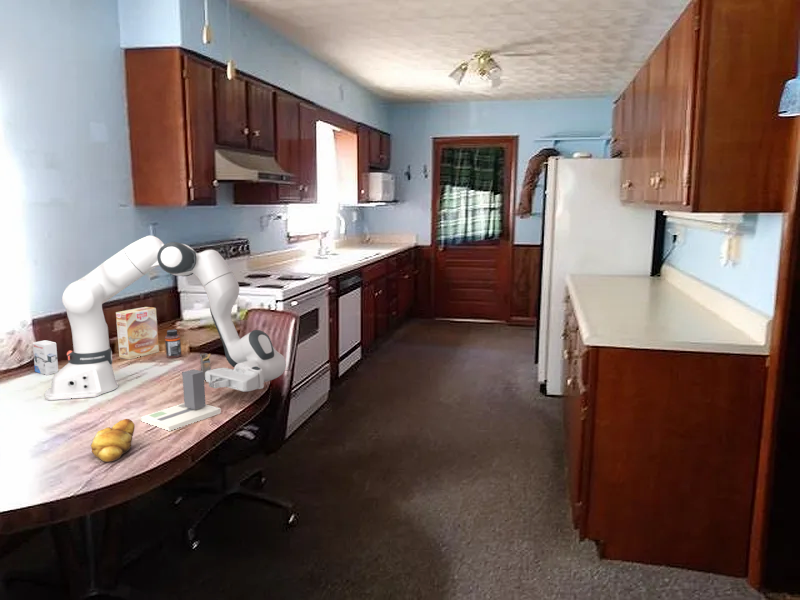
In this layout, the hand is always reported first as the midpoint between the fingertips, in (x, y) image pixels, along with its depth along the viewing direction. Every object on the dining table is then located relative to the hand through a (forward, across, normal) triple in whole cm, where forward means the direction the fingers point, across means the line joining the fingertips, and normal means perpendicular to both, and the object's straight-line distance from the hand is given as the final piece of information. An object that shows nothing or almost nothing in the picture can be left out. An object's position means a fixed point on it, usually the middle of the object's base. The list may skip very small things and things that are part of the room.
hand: (211, 385), depth 192 cm
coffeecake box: (-25, -80, +7) cm, 84 cm away
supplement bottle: (-31, -64, +7) cm, 72 cm away
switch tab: (+7, 0, +5) cm, 8 cm away
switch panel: (+12, 0, +7) cm, 14 cm away
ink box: (+10, -86, +7) cm, 86 cm away
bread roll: (+38, +8, +7) cm, 40 cm away
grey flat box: (-20, -30, +8) cm, 37 cm away
